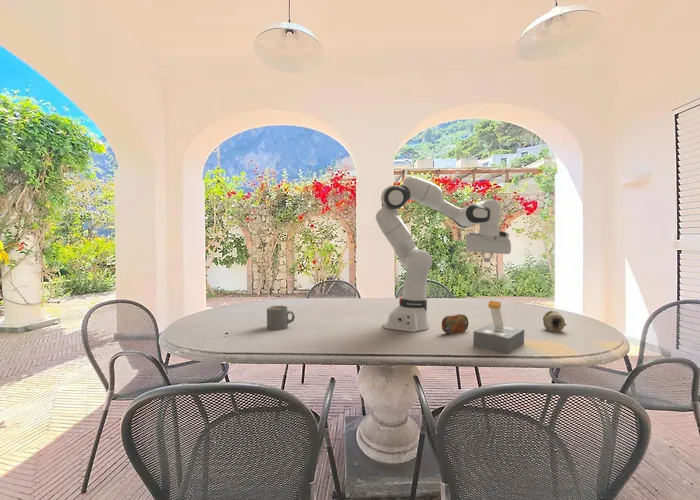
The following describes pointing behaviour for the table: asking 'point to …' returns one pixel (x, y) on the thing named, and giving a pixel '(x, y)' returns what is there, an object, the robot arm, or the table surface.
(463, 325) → the tin
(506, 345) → the switch box
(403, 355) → the table surface
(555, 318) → the beige hollow lumpy pot
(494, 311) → the breaker lever
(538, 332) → the table surface
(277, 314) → the coffee mug
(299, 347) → the table surface
